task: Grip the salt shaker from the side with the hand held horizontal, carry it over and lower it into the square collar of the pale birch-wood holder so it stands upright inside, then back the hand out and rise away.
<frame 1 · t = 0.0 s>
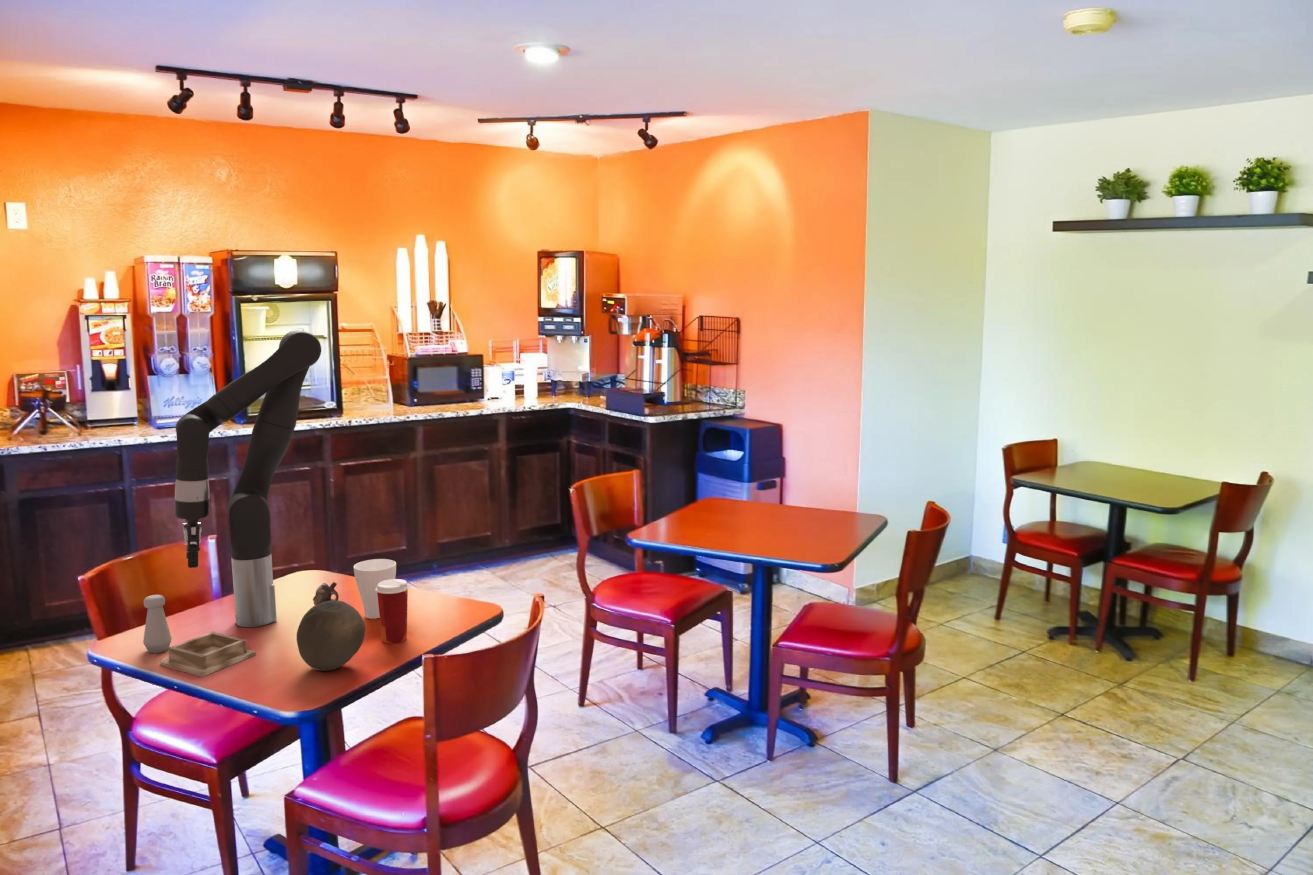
hand: (192, 562, 229), 17 cm above the table, tool pointing down, fingers open, 8 cm apart
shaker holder: (208, 659, 214), on the table
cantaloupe: (332, 668, 209), on the table
figurine: (327, 630, 232), on the table
salt shaker: (158, 650, 219), on the table
cup: (377, 616, 243), on the table
paper cup: (394, 640, 226), on the table
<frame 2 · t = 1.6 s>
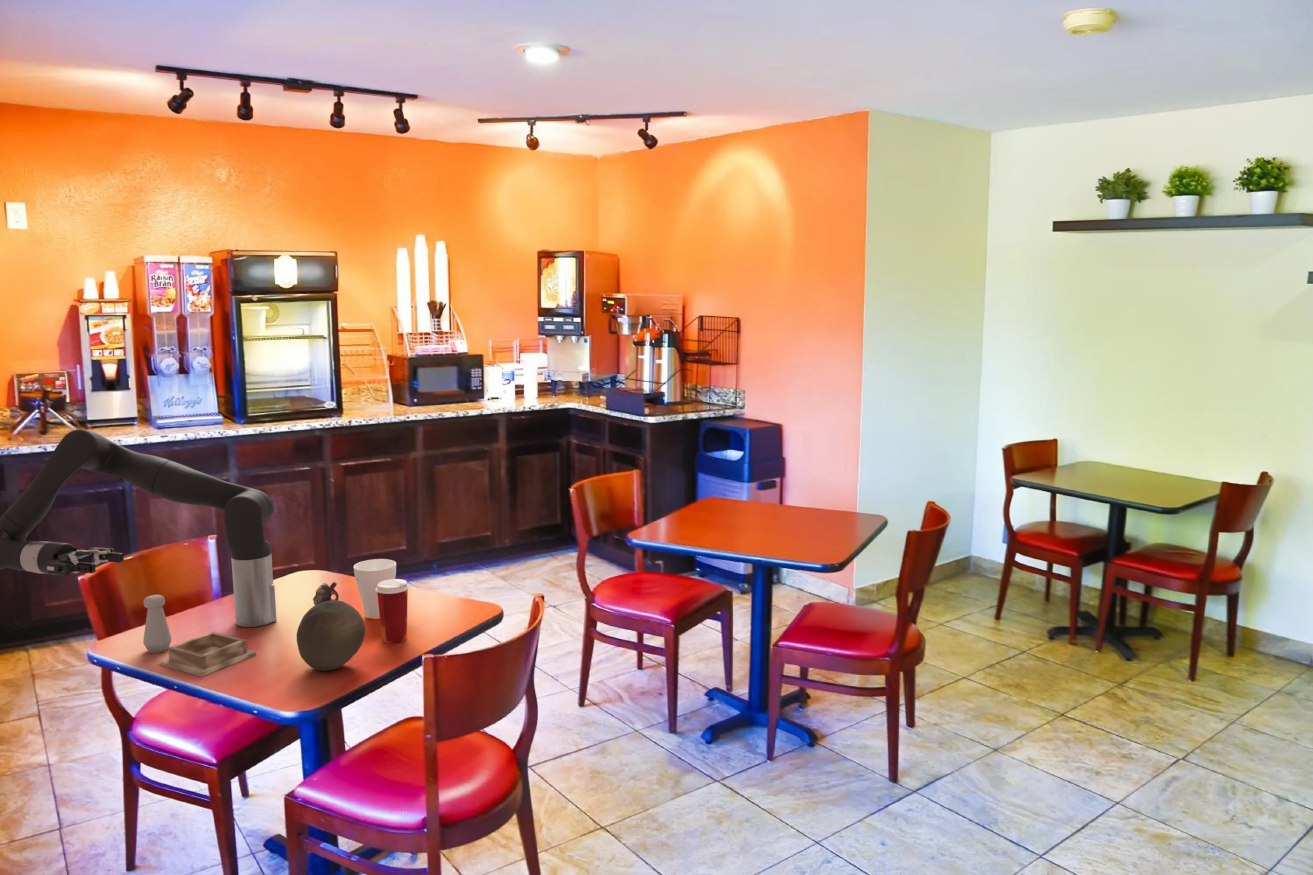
hand: (108, 563, 218), 20 cm above the table, tool horizontal, fingers open, 8 cm apart
nothing on the table moved.
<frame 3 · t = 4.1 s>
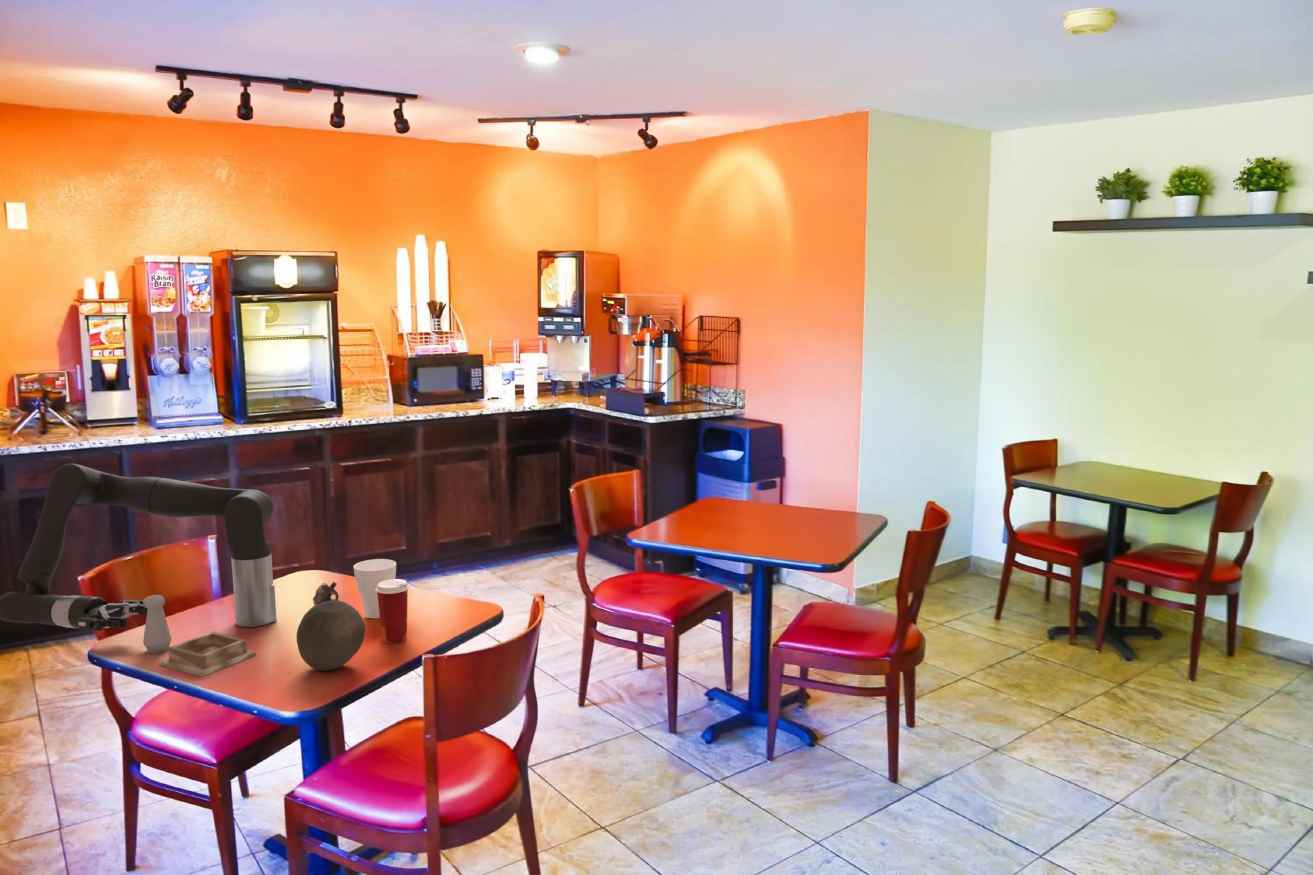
hand: (139, 616, 219), 8 cm above the table, tool horizontal, fingers open, 8 cm apart
nothing on the table moved.
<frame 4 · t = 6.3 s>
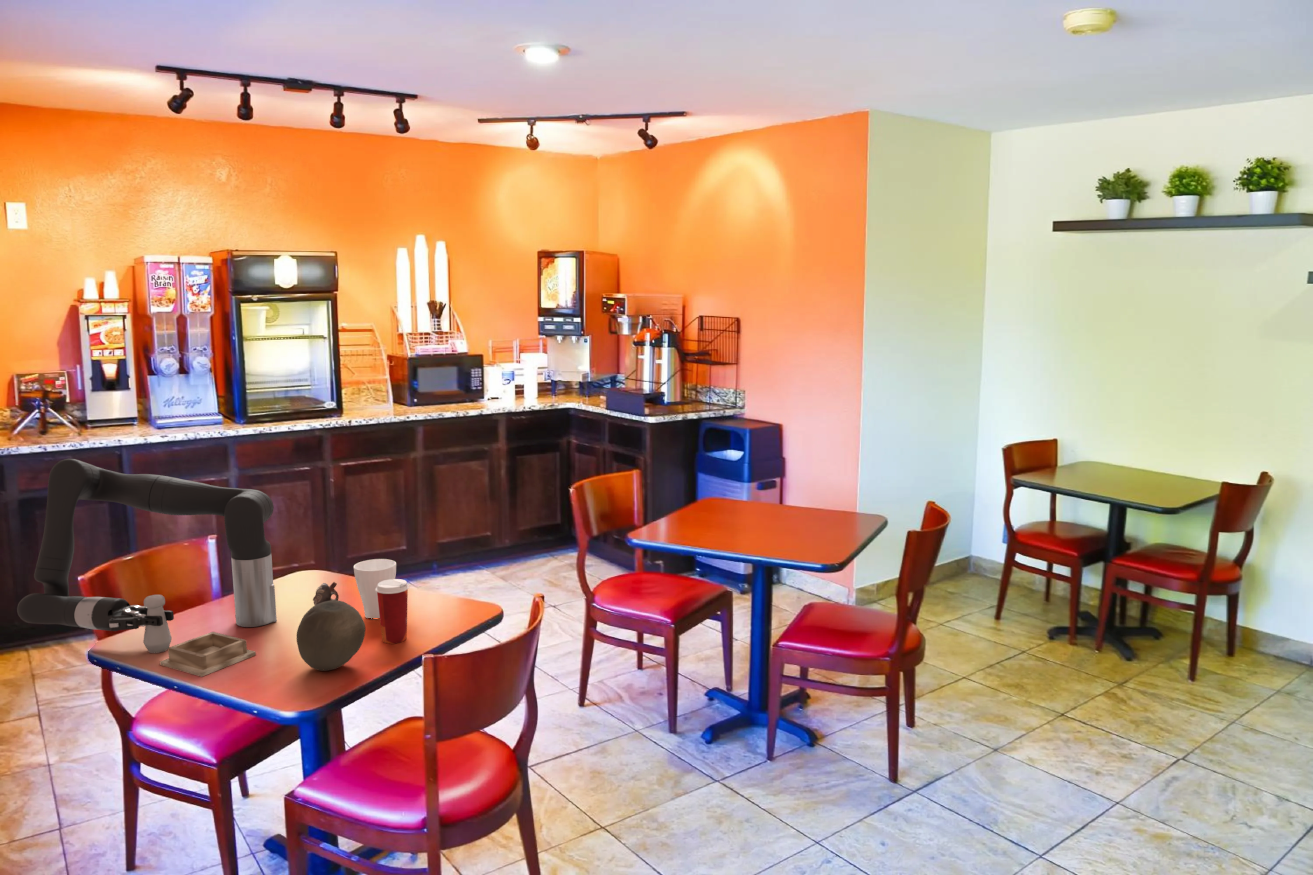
hand: (166, 618, 218), 8 cm above the table, tool horizontal, fingers closed on salt shaker, 3 cm apart
salt shaker: (158, 650, 219), on the table, touching gripper
everything else where it was.
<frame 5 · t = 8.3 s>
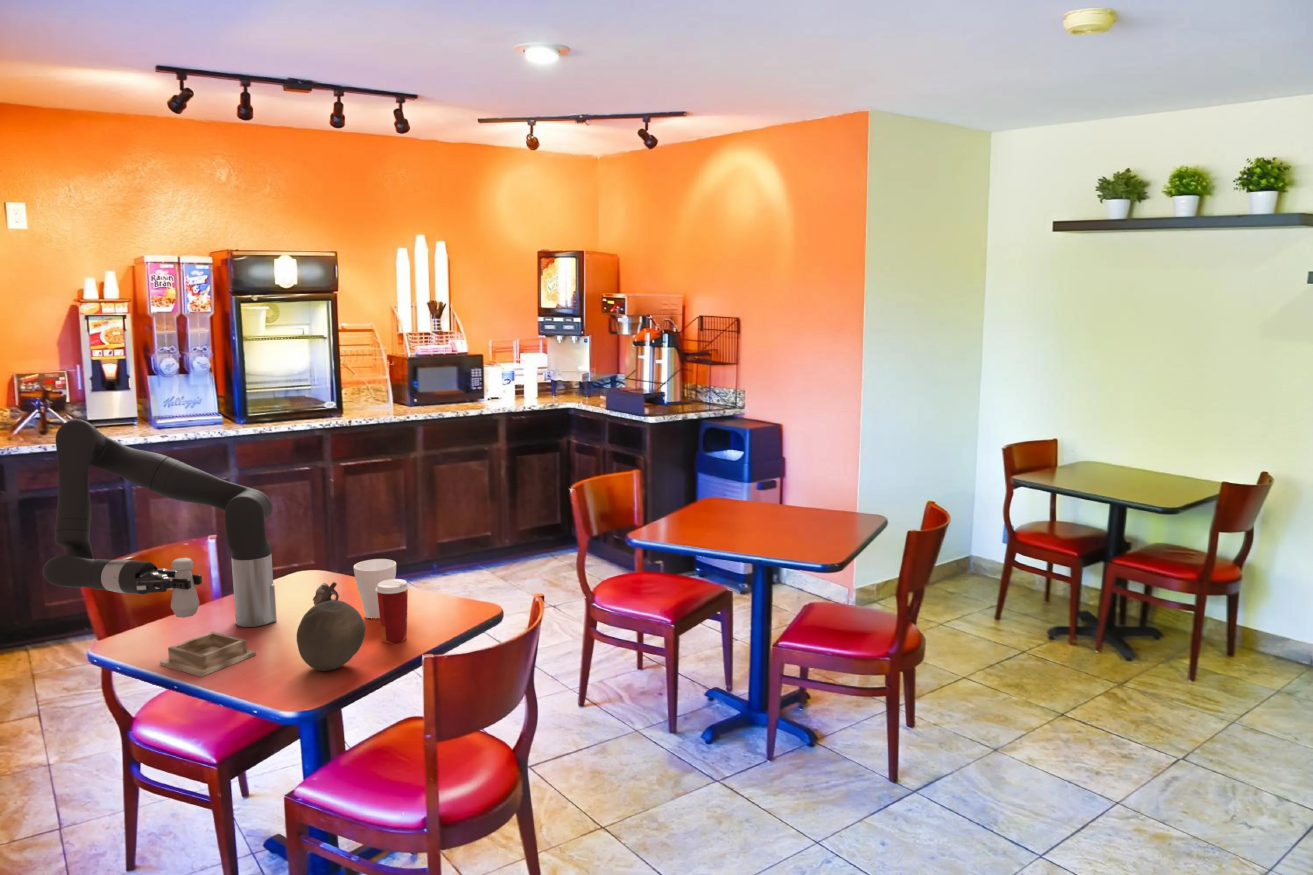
hand: (195, 582, 212), 18 cm above the table, tool horizontal, fingers closed on salt shaker, 3 cm apart
salt shaker: (185, 615, 214), point 10 cm above the table, touching gripper
everything else where it was.
when the fingers open (10 cm above the table, at t = 10.8 s): salt shaker drops 1 cm, resting on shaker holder.
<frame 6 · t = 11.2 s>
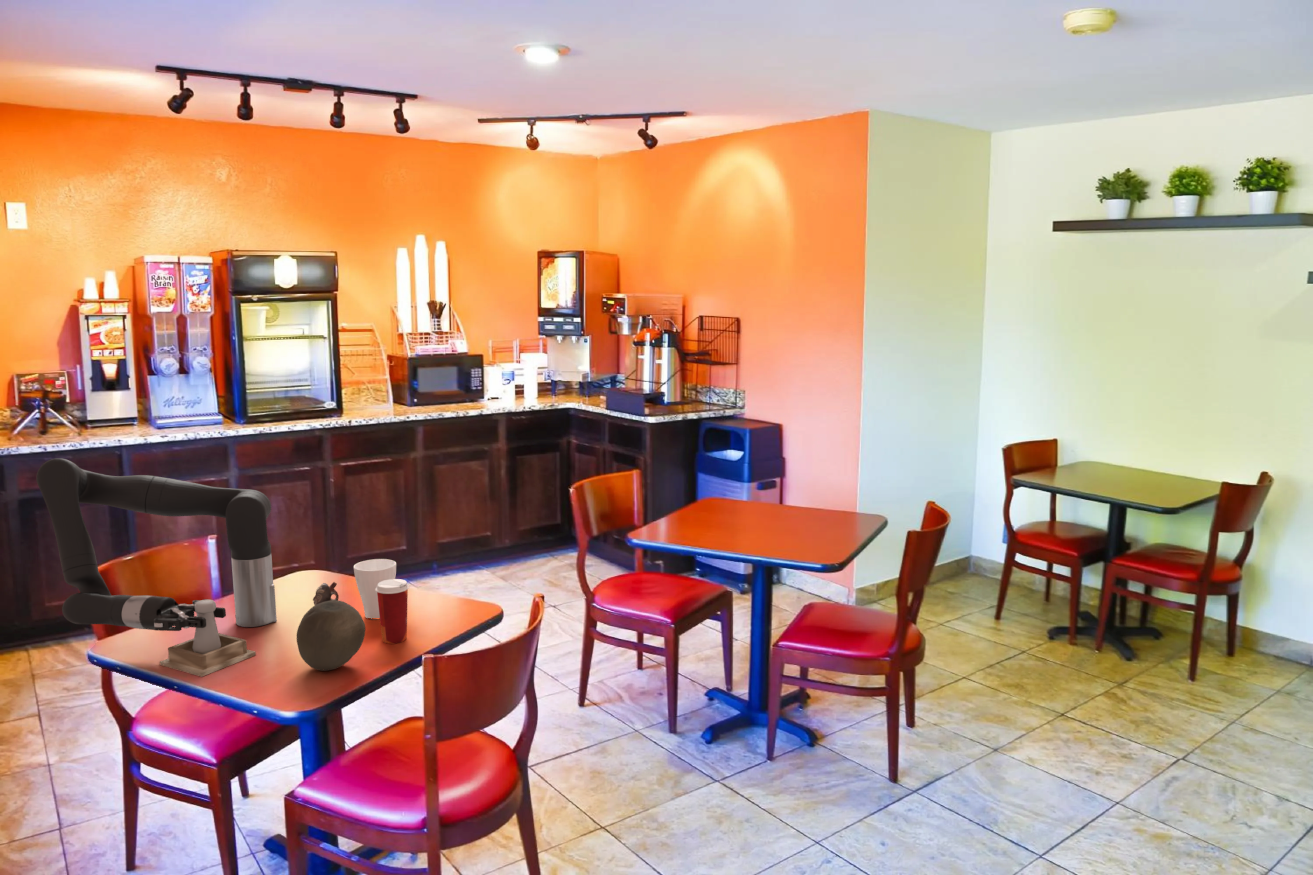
hand: (214, 617, 211), 10 cm above the table, tool horizontal, fingers open, 6 cm apart
salt shaker: (207, 657, 213), point 1 cm above the table, touching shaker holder
everything else where it was.
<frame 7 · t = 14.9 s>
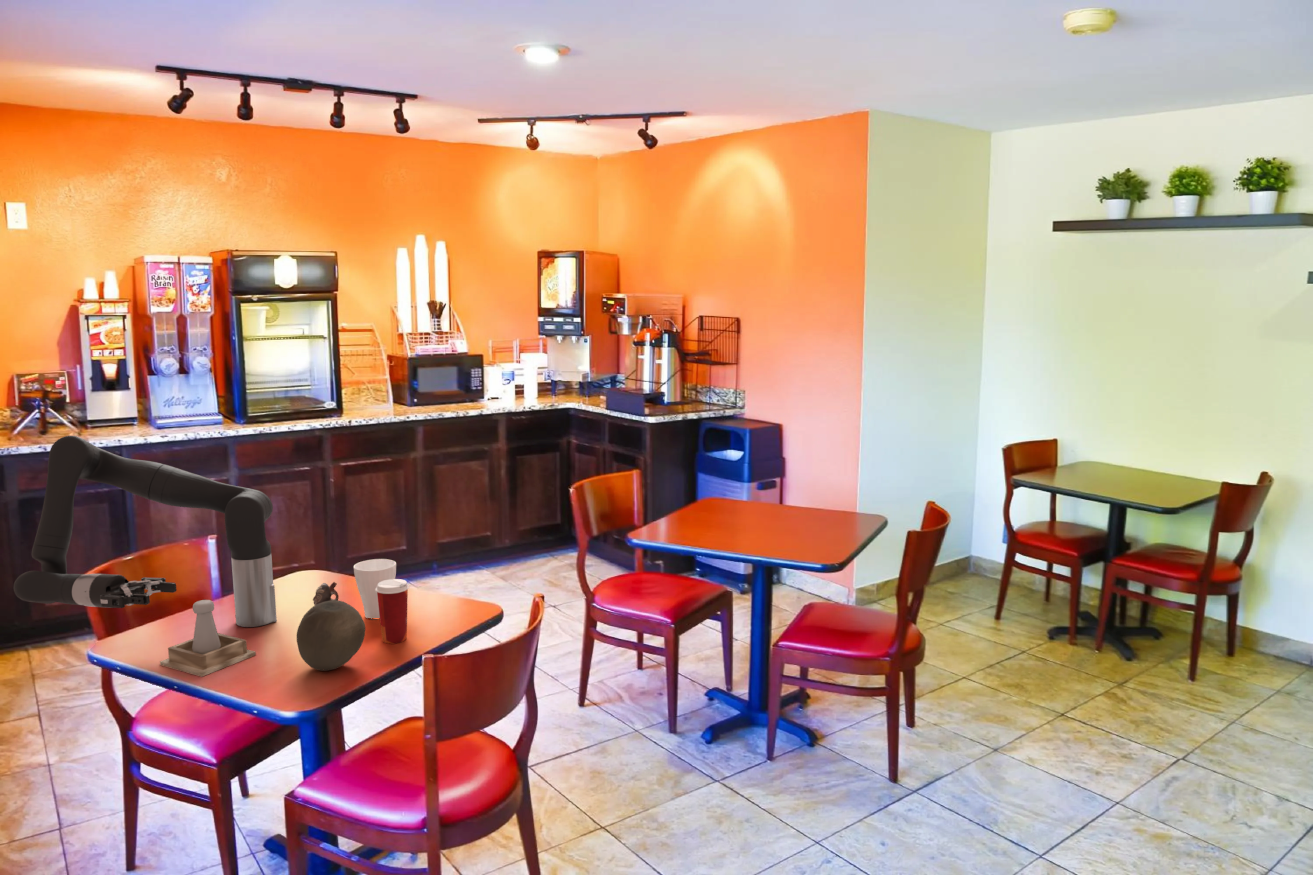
hand: (162, 593, 213), 15 cm above the table, tool horizontal, fingers open, 8 cm apart
nothing on the table moved.
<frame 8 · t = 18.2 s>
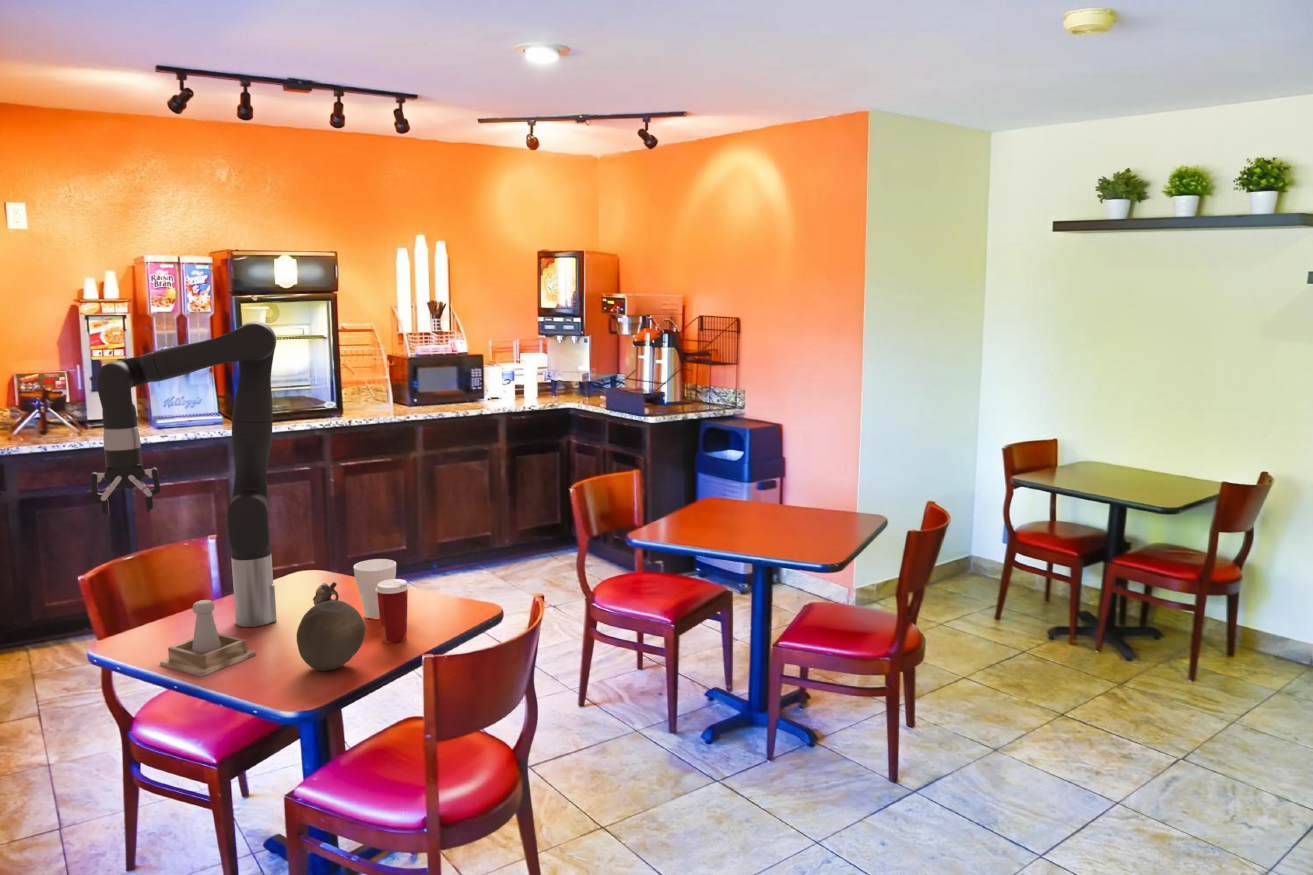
hand: (128, 513, 225), 30 cm above the table, tool pointing down, fingers open, 8 cm apart
nothing on the table moved.
at the end: salt shaker 0.3 cm off-centre on the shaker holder, point 0.6 cm above the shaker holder's base; salt shaker tilted 0°; the gripper is holding nothing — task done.
